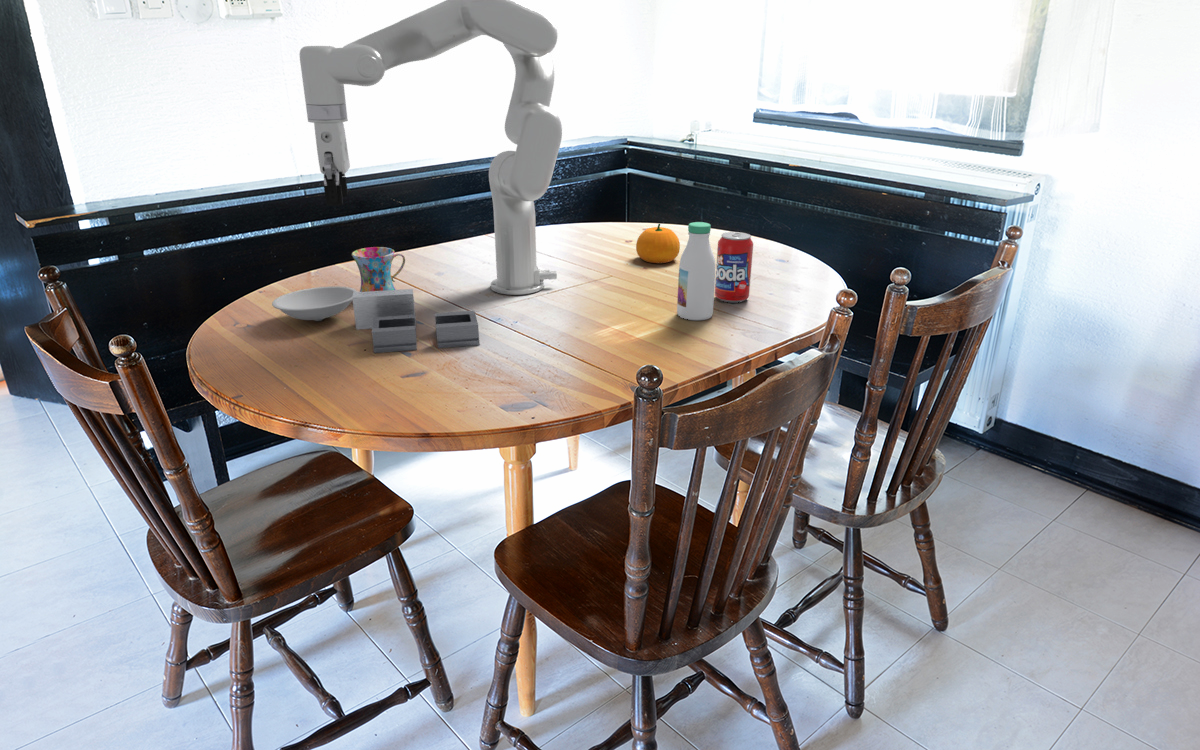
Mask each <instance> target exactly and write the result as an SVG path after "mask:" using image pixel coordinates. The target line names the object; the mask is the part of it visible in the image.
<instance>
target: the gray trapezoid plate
mask: <svg viewBox="0 0 1200 750" xmlns="http://www.w3.org/2000/svg"><path fill="white" fill-rule="evenodd" d="M352 299H353V300H352V307H353V314H354V322H355V329H356V330H357V331H358V330H372V326H373V317H386V316H401V315H415V325H416V326H417V321H416V319H417V318H416V309H415V307H416V306H415V295H414V288H405V289H396V290H386V291H369V292H360V291H358V292H353V296H352Z"/></svg>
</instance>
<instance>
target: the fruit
mask: <svg viewBox="0 0 1200 750" xmlns="http://www.w3.org/2000/svg"><path fill="white" fill-rule="evenodd" d="M680 243H681V242H680V240H679V237H678V235H677V234H676V233H675V232H674V231H673V230H672V229H670V228H667V227H664V226H663V227H662V226H661V223H658V224H657V226H654V227H653V226H652V227H649V228H646V229H645V230H643V231H642V232H641V233H640V234H639V236H638V238H637V240H636V244H635V245H636V246H635V250H636V254H637V256H638V257H639V258H640V259H641V260H643V261H645V262H647V263H651V264H667V263H669V262H672V261H674V260H675V259H676V258H677V257H678V256H679V253H680V250H681V249H680V247H681V245H680Z"/></svg>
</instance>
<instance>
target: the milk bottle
mask: <svg viewBox="0 0 1200 750" xmlns="http://www.w3.org/2000/svg"><path fill="white" fill-rule="evenodd" d="M687 228H688V229H687V234H688V240H687V242H686V243H687V244H686V245H685V248H684V249H683V251H682V254H681V256H680V260H679V266H678V267H679V269H678V280H677V281H678V282H677V283H678V284H677V299H676V301H677V302H676V303H677V304H676V305H677V306H676V313H677V316H678V317H679V316H680V317H679V318H681V319H683V318H684V319H685V320H687V319H688V321H705V320H709V319H710V318H712V316H713V313H714V300H715V299H714V298H715V279H716V258H715V255H714V252H713V250H712V246H711V244H710V243H711V242H710V235H711V229H712V227H711V224H710V223H708V222H703V221H695V222H690V223H688V226H687ZM684 319H683V320H684Z"/></svg>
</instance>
